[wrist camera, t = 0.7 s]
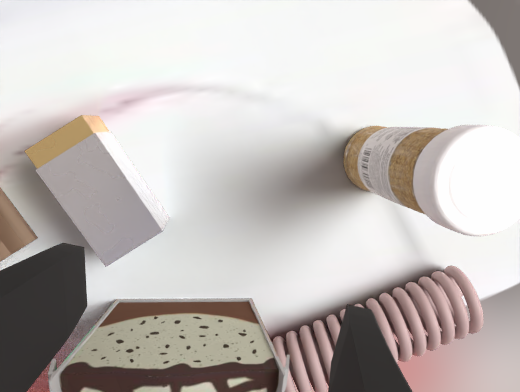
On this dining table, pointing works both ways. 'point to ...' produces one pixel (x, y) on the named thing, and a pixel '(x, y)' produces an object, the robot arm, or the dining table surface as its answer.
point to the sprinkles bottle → (442, 173)
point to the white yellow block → (98, 187)
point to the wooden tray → (12, 228)
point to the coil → (388, 327)
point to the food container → (174, 350)
